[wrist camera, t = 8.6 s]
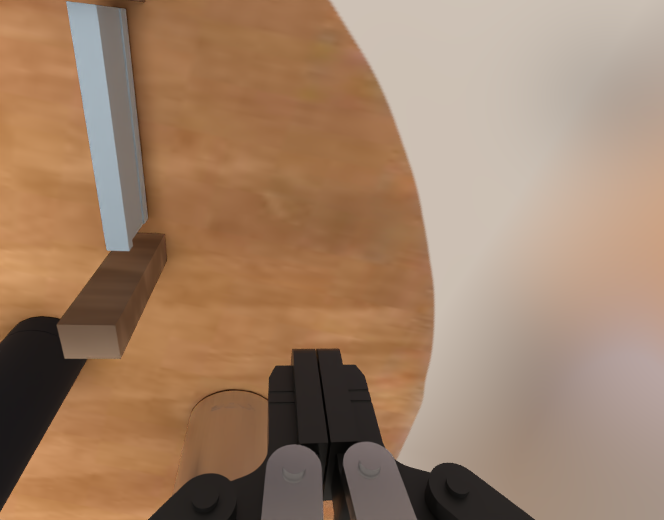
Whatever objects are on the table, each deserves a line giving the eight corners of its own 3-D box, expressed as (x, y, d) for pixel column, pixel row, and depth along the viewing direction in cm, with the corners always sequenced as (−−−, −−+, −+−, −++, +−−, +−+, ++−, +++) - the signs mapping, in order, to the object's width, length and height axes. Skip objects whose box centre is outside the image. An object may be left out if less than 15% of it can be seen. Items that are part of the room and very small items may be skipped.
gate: (150, 218, 33) (129, 251, 28) (131, 217, 32) (106, 250, 28) (129, 9, 26) (96, 4, 21) (104, 6, 26) (66, 1, 21)
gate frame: (168, 260, 35) (118, 368, 24) (127, 258, 35) (56, 368, 23) (143, -47, 25) (38, -106, 14) (85, -55, 25) (-70, -122, 14)
